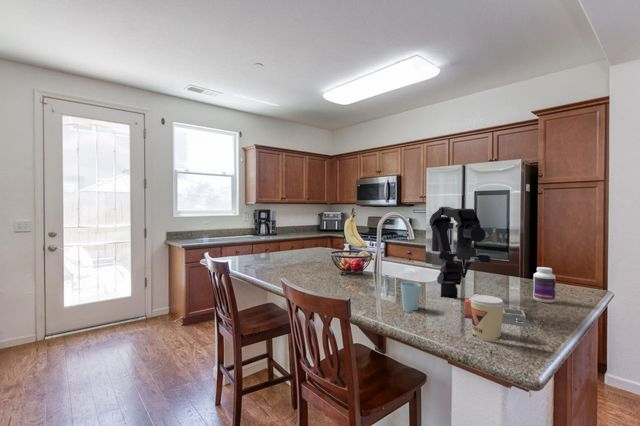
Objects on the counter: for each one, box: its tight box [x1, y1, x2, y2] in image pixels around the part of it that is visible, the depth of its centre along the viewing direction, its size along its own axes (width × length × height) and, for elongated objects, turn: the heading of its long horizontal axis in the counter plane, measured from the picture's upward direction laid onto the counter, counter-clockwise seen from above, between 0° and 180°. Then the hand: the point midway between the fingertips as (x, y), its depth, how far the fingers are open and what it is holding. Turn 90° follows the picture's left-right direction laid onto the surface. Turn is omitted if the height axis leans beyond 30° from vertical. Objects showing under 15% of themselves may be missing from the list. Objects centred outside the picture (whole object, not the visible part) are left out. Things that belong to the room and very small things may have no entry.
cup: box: [400, 281, 422, 314], centre depth 127 cm, size 8×8×10 cm
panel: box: [462, 306, 530, 328], centre depth 121 cm, size 20×20×2 cm
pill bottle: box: [532, 266, 557, 304], centre depth 142 cm, size 8×8×14 cm
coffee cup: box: [470, 294, 505, 342], centre depth 102 cm, size 9×9×12 cm
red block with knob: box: [464, 297, 472, 316], centre depth 120 cm, size 4×4×6 cm
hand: (463, 277), depth 132 cm, fingers closed
